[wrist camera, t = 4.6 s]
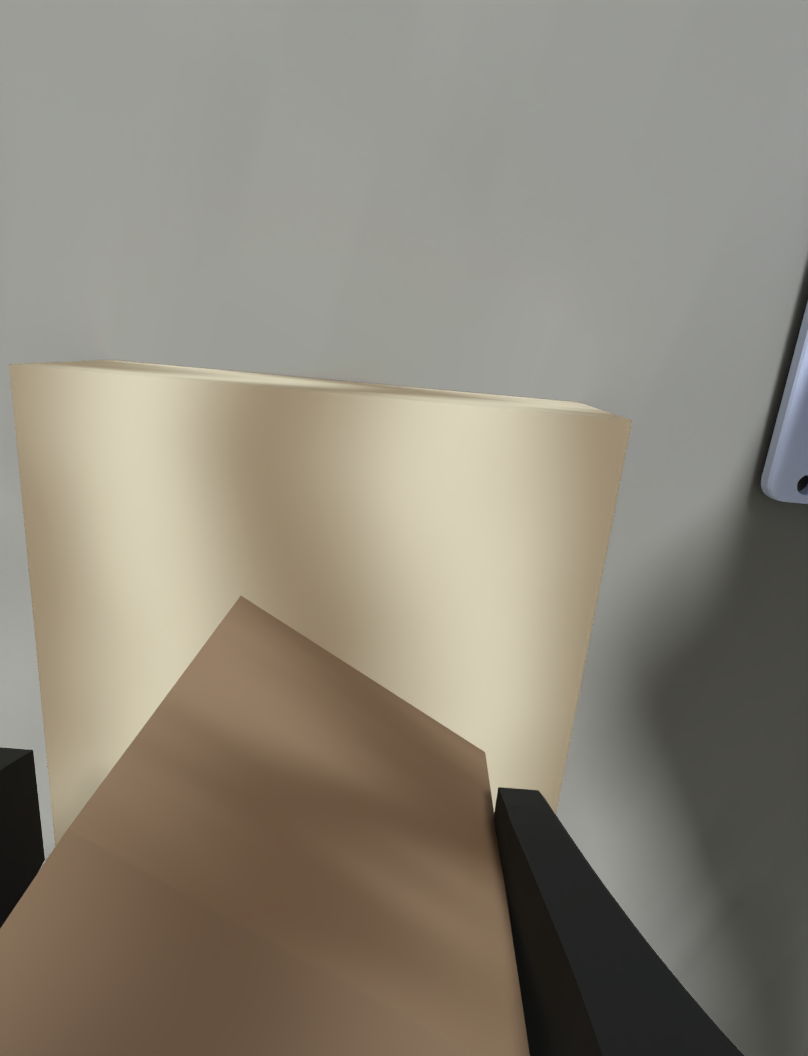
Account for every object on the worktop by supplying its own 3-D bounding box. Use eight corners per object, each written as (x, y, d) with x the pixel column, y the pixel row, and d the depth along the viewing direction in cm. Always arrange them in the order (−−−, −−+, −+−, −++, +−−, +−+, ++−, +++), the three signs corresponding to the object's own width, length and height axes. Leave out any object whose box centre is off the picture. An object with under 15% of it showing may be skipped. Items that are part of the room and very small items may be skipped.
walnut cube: (484, 752, 11) (533, 1086, 6) (328, 926, 12) (263, 1319, 7) (241, 595, 10) (67, 829, 5) (102, 798, 11) (-142, 1138, 6)
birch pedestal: (577, 402, 16) (631, 420, 12) (513, 790, 19) (538, 903, 15) (109, 359, 15) (9, 364, 12) (129, 759, 19) (56, 864, 15)
